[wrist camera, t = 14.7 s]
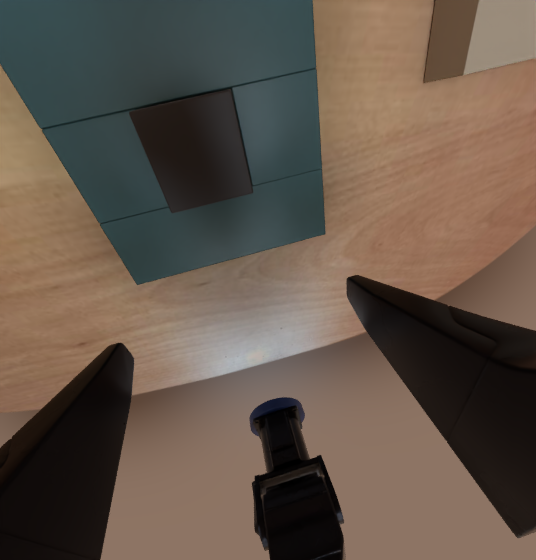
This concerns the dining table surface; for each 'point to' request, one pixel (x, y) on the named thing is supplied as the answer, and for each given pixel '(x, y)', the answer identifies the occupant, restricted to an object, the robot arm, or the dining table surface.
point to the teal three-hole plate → (168, 88)
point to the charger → (195, 149)
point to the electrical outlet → (479, 36)
